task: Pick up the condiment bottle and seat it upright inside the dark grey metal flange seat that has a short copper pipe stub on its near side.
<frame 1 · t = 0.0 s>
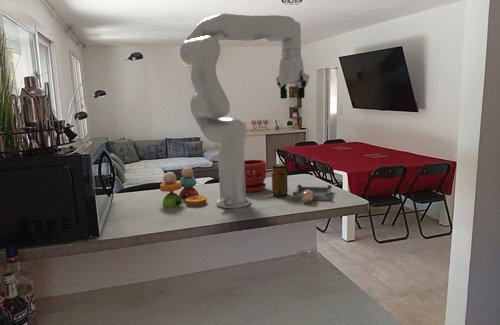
hand: (292, 98, 156), 37 cm above the countertop, tool pointing down, fingers open, 9 cm apart
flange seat: (312, 195, 149), on the countertop
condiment: (281, 195, 151), on the countertop
wooden stacking toy: (188, 201, 148), on the countertop
plant pot: (251, 189, 162), on the countertop
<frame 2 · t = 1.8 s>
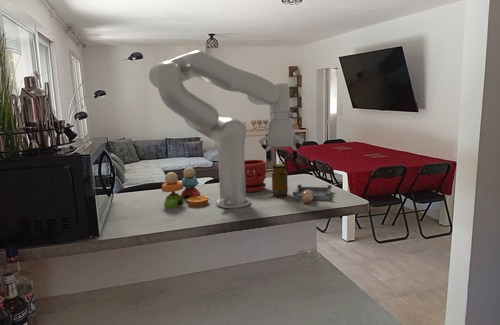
hand: (282, 160, 149), 14 cm above the countertop, tool pointing down, fingers open, 9 cm apart
nothing on the countertop moved.
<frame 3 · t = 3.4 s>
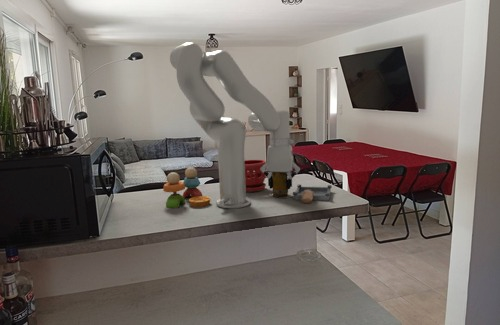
hand: (280, 187, 150), 3 cm above the countertop, tool pointing down, fingers open, 6 cm apart
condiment: (281, 196, 151), on the countertop, touching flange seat, gripper
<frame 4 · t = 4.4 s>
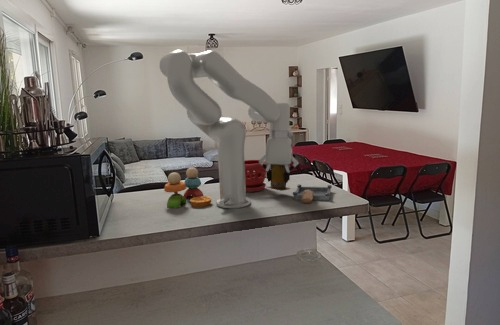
hand: (277, 181, 149), 6 cm above the countertop, tool pointing down, fingers closed on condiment, 6 cm apart
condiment: (279, 188, 150), point 3 cm above the countertop, touching gripper
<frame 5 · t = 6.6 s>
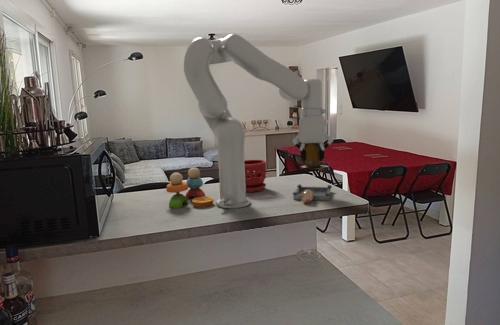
hand: (312, 160, 146), 14 cm above the countertop, tool pointing down, fingers closed on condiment, 6 cm apart
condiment: (314, 167, 147), point 11 cm above the countertop, touching gripper
when the fingers open (5 cm above the countertop, at t = 8.9 s): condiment stays where it is, resting on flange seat.
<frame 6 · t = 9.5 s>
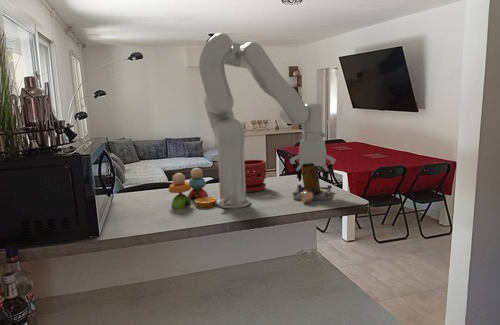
hand: (312, 180, 148), 6 cm above the countertop, tool pointing down, fingers open, 9 cm apart
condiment: (314, 192, 149), point 1 cm above the countertop, touching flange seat
wooden stacking toy: (197, 202, 146), on the countertop
everything else where it was.
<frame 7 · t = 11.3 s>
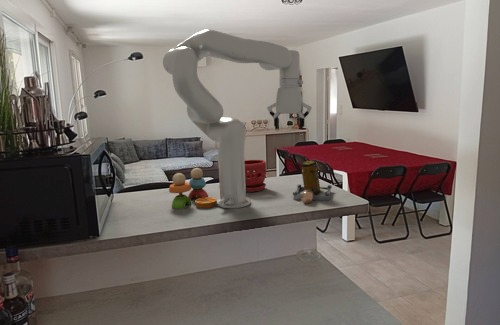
hand: (289, 128, 150), 26 cm above the countertop, tool pointing down, fingers open, 9 cm apart
nothing on the countertop moved.
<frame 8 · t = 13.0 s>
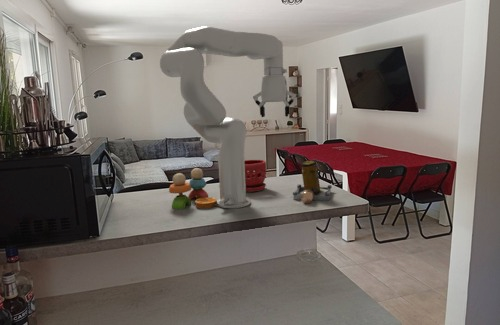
hand: (274, 116, 154), 30 cm above the countertop, tool pointing down, fingers open, 9 cm apart
nothing on the countertop moved.
at the end: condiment 0.6 cm off-centre on the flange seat, point 1.1 cm above the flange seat's base; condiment tilted 10°; the gripper is holding nothing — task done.
